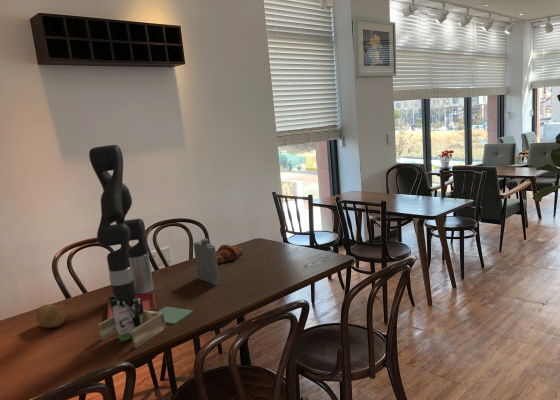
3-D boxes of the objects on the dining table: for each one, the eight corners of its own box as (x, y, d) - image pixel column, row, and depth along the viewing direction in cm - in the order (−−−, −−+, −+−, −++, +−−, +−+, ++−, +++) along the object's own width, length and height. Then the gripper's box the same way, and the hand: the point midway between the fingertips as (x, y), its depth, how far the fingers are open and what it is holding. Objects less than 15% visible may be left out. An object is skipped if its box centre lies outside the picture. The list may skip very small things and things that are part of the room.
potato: (48, 336, 160) (43, 316, 158) (32, 327, 169) (28, 308, 167) (74, 325, 167) (70, 305, 165) (58, 317, 176) (54, 298, 174)
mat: (146, 319, 165) (146, 318, 165) (166, 307, 175) (166, 306, 175) (174, 324, 159) (174, 323, 159) (193, 311, 168) (193, 310, 168)
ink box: (121, 342, 149) (115, 310, 147) (117, 337, 153) (111, 306, 151) (145, 333, 154) (140, 302, 152) (141, 328, 158) (136, 298, 156)
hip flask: (197, 278, 205) (191, 238, 201) (204, 275, 208) (199, 235, 204) (215, 285, 193) (209, 243, 189) (222, 283, 196) (217, 240, 192)
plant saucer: (154, 298, 186) (153, 291, 186) (157, 315, 169) (156, 307, 169) (109, 308, 180) (108, 301, 180) (108, 326, 164) (107, 318, 163)
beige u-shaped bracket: (101, 340, 152) (98, 324, 151) (131, 321, 165) (128, 307, 164) (136, 348, 144) (133, 331, 143) (165, 328, 157) (163, 312, 155)
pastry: (215, 255, 239) (213, 241, 237) (242, 252, 240) (241, 238, 238) (213, 265, 222) (211, 250, 221) (242, 262, 223) (241, 247, 222)
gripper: (98, 282, 150) (107, 326, 153) (128, 286, 143) (136, 332, 146) (115, 274, 156) (123, 317, 159) (145, 278, 150) (152, 322, 153)
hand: (129, 324), depth 153 cm, fingers closed on ink box, 6 cm apart
